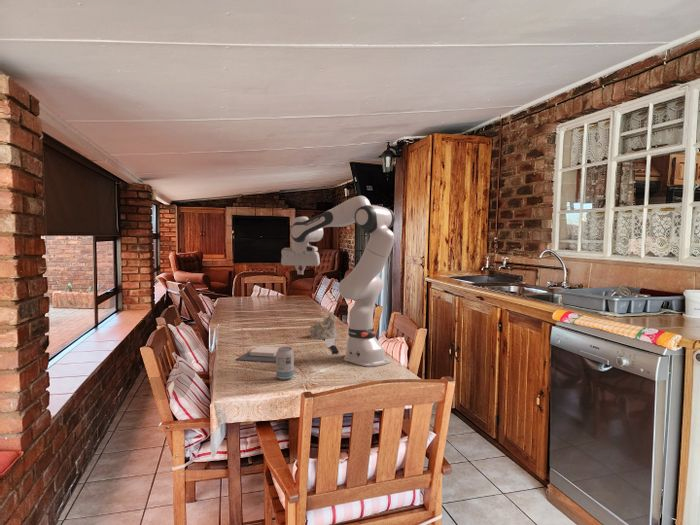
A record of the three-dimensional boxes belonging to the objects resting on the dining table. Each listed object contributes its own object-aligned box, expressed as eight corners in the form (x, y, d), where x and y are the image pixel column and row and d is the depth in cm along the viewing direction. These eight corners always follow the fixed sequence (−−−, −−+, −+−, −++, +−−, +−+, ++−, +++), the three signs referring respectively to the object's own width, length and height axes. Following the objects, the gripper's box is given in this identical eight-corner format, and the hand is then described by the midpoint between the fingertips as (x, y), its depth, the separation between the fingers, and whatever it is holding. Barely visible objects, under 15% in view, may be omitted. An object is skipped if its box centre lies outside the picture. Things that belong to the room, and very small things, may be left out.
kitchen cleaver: (317, 338, 243) (335, 336, 245) (317, 341, 244) (335, 339, 245) (321, 353, 213) (341, 350, 214) (321, 357, 213) (342, 354, 214)
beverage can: (294, 375, 181) (294, 346, 180) (292, 381, 174) (292, 350, 173) (277, 375, 180) (277, 346, 180) (275, 381, 174) (275, 351, 173)
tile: (258, 346, 218) (249, 351, 207) (282, 347, 216) (273, 353, 205) (259, 350, 218) (249, 356, 207) (282, 351, 216) (274, 357, 205)
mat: (250, 351, 218) (250, 350, 218) (289, 353, 214) (289, 352, 214) (236, 360, 202) (235, 359, 202) (277, 363, 198) (277, 361, 198)
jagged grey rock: (339, 332, 261) (337, 307, 259) (336, 340, 244) (334, 313, 243) (313, 334, 262) (311, 309, 261) (308, 341, 246) (306, 315, 244)
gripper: (279, 247, 228) (279, 274, 229) (317, 248, 225) (317, 275, 225) (283, 247, 235) (283, 273, 235) (320, 247, 231) (320, 274, 232)
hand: (300, 274), depth 230 cm, fingers closed
